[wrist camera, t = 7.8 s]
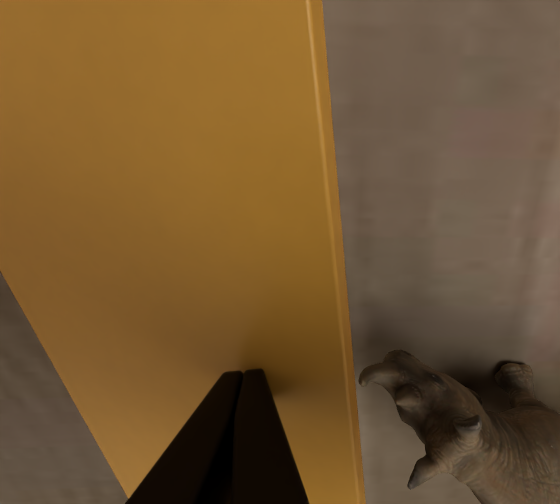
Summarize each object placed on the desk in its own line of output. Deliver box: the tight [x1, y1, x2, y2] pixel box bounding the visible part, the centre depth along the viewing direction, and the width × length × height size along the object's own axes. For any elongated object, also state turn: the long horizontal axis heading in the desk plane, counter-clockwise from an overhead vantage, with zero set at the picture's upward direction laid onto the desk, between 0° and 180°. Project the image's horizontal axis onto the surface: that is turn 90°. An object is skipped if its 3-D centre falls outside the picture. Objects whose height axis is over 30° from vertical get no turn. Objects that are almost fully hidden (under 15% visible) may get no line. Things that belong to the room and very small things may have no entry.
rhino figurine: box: [359, 350, 560, 504], centre depth 14 cm, size 4×14×6 cm, turn 58°
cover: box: [0, 0, 366, 504], centre depth 10 cm, size 9×16×1 cm, turn 8°
